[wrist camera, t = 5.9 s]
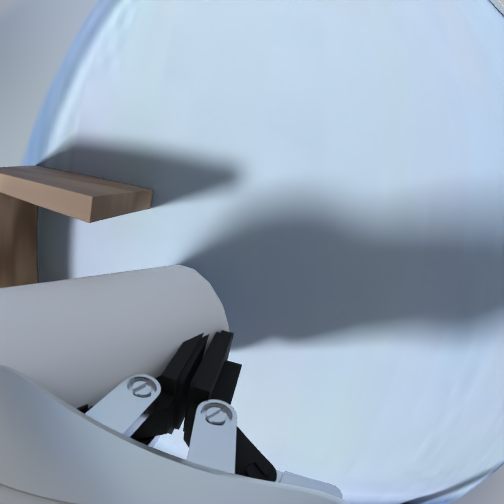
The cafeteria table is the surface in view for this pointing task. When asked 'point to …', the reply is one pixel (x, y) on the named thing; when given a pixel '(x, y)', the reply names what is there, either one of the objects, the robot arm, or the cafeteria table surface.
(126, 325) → the white paper cup
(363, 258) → the cafeteria table surface
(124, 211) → the box
